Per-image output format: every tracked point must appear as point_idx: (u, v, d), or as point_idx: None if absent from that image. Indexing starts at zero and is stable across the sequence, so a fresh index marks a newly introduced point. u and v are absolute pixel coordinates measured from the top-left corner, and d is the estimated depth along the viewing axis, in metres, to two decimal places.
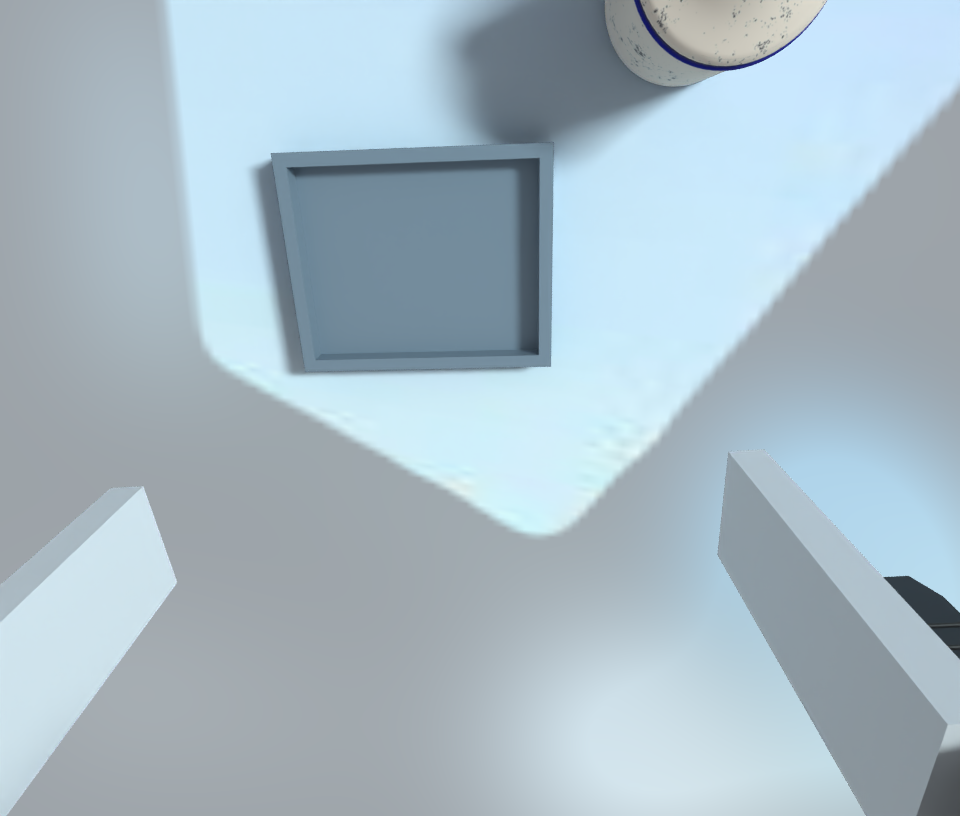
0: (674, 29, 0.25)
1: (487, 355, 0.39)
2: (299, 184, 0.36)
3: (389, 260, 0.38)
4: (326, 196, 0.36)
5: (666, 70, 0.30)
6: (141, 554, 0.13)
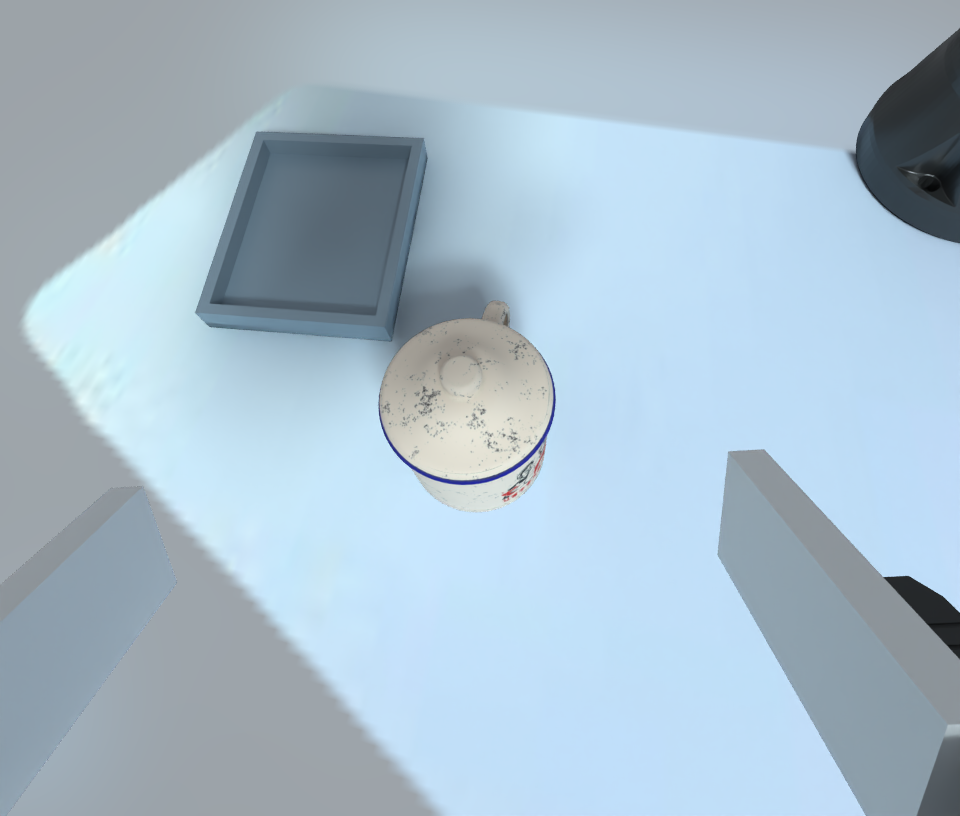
0: (414, 340, 0.30)
1: (224, 264, 0.42)
2: (402, 160, 0.46)
3: (329, 210, 0.45)
4: (389, 176, 0.46)
5: None
6: (141, 554, 0.13)
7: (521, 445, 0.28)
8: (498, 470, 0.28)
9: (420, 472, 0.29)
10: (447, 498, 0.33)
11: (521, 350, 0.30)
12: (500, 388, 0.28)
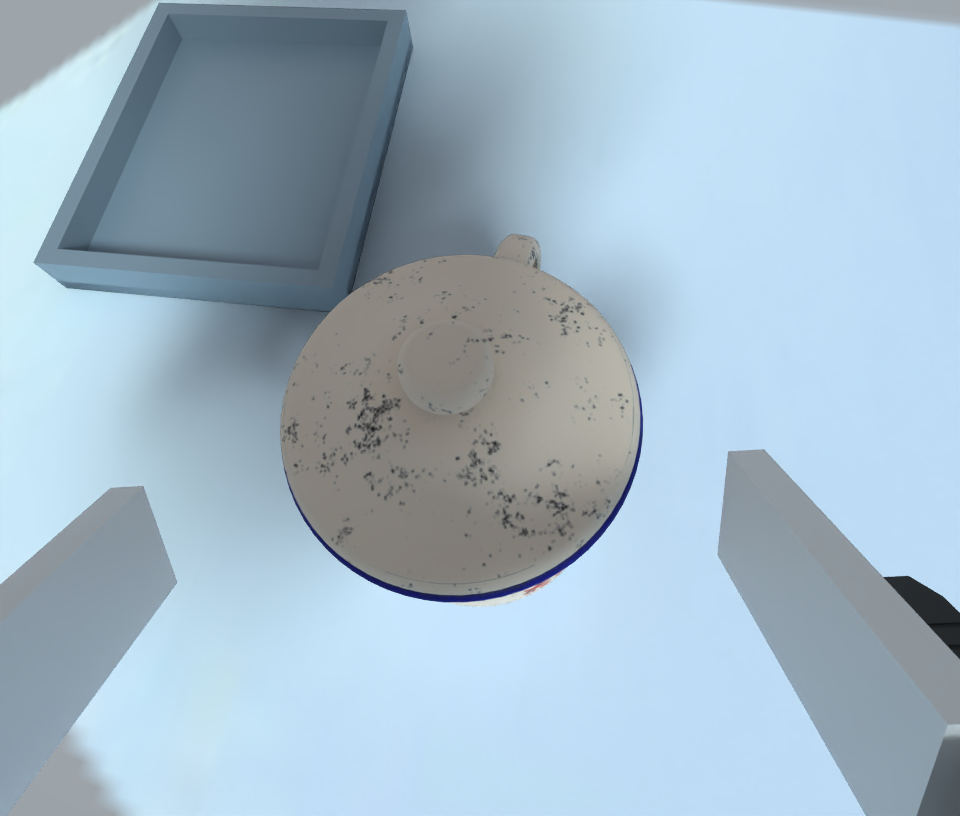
0: (357, 296, 0.15)
1: (89, 189, 0.27)
2: (374, 48, 0.31)
3: (262, 117, 0.30)
4: (354, 69, 0.30)
5: None
6: (141, 554, 0.13)
7: (577, 521, 0.13)
8: (525, 576, 0.13)
9: (357, 572, 0.13)
10: None
11: (574, 317, 0.14)
12: (533, 395, 0.13)
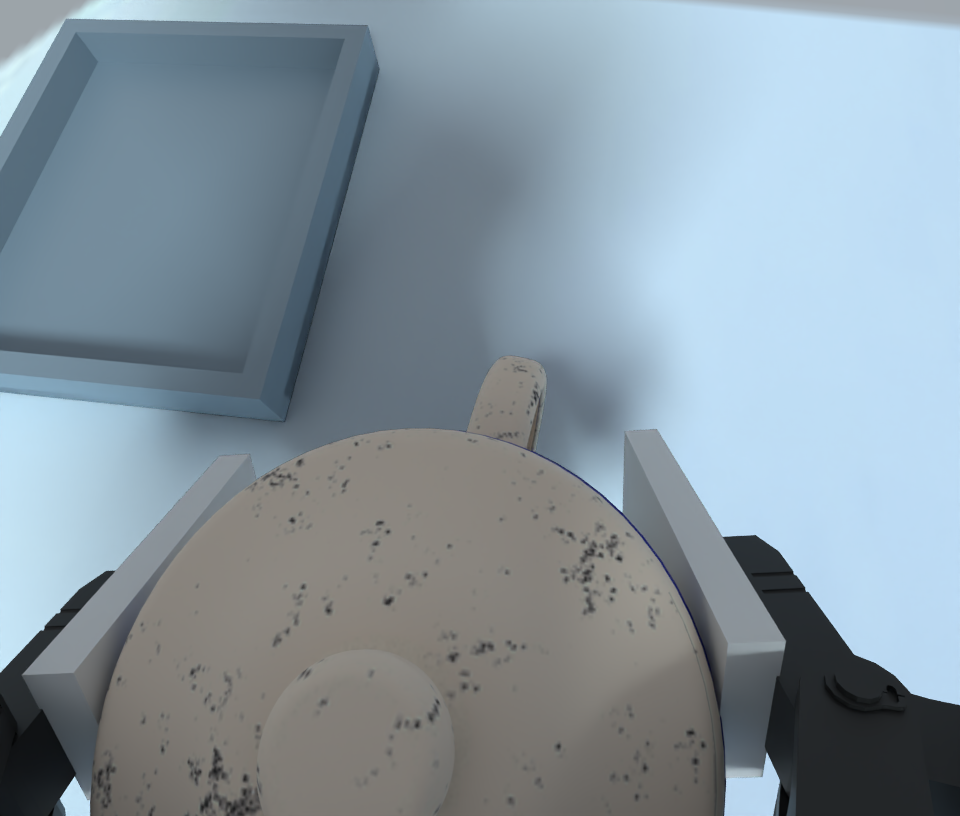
0: (241, 507, 0.09)
1: None
2: (330, 72, 0.25)
3: (189, 160, 0.24)
4: (305, 98, 0.24)
5: None
6: None
7: None
8: None
9: None
10: None
11: (605, 567, 0.08)
12: (531, 784, 0.07)
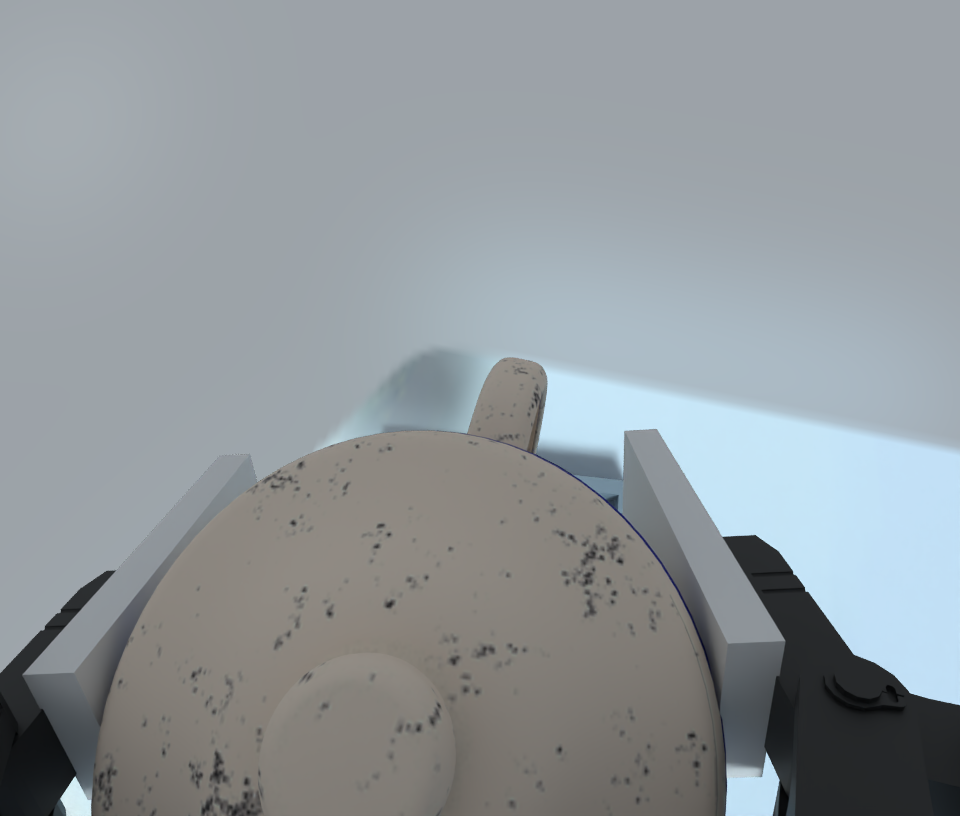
0: (242, 510, 0.09)
1: None
2: None
3: None
4: None
5: None
6: None
7: None
8: None
9: None
10: None
11: (606, 570, 0.08)
12: (532, 788, 0.07)
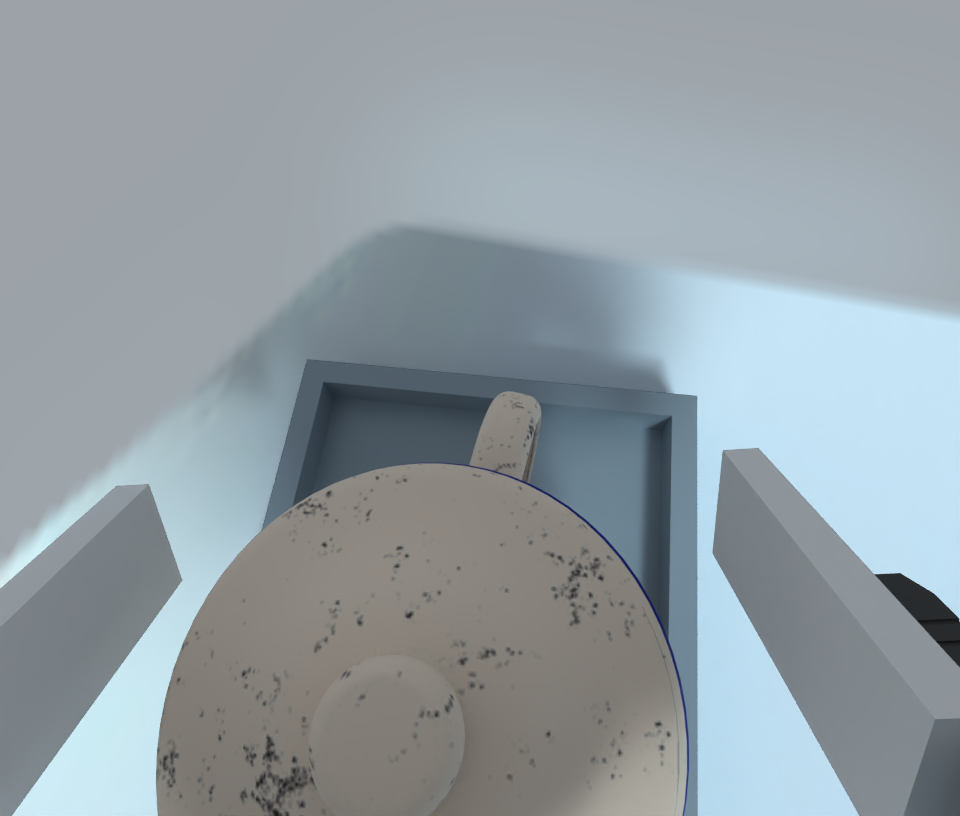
0: (279, 533, 0.11)
1: None
2: (633, 431, 0.21)
3: None
4: (609, 472, 0.20)
5: None
6: (147, 552, 0.13)
7: None
8: None
9: None
10: None
11: (589, 586, 0.10)
12: (526, 763, 0.08)
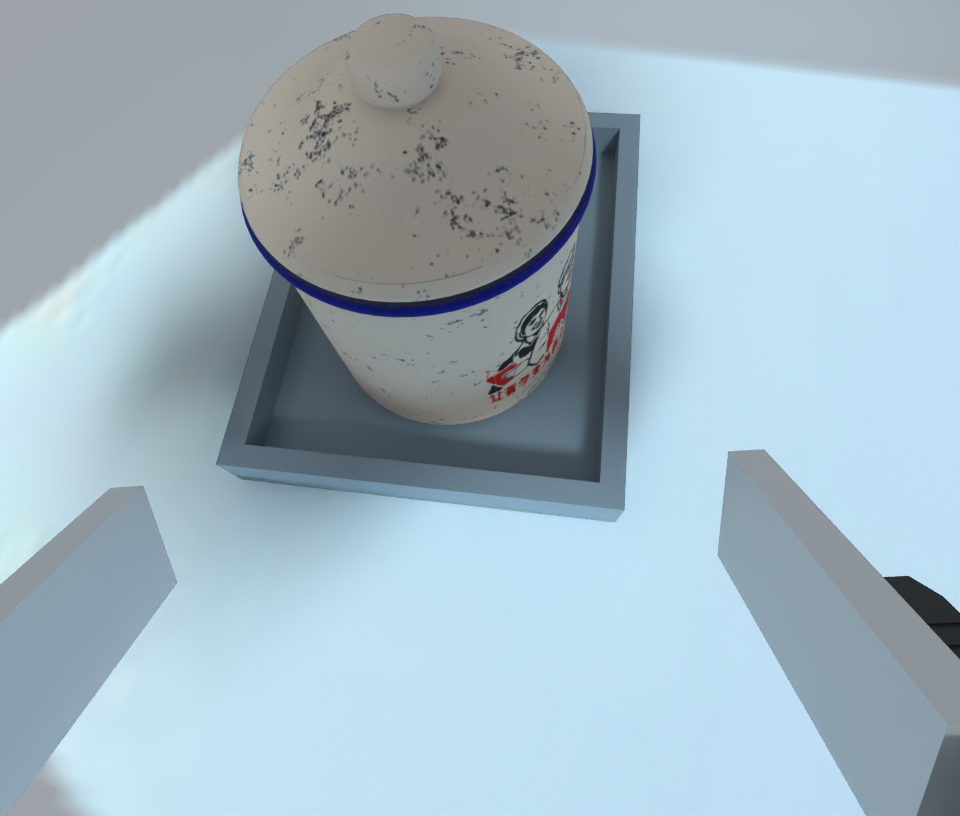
0: (317, 51, 0.15)
1: (272, 357, 0.21)
2: None
3: None
4: None
5: None
6: (141, 554, 0.13)
7: (524, 227, 0.13)
8: (473, 280, 0.13)
9: (310, 291, 0.13)
10: (388, 387, 0.18)
11: (529, 59, 0.14)
12: (481, 100, 0.13)
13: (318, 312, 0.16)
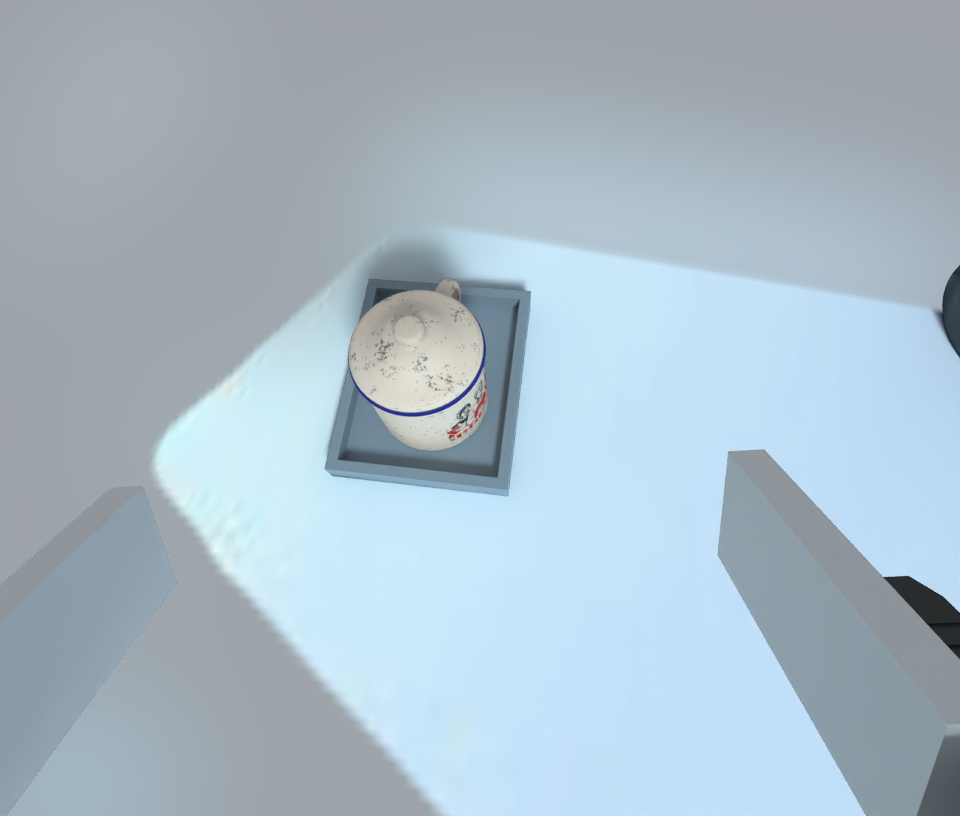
0: (377, 306, 0.39)
1: (347, 417, 0.45)
2: (507, 308, 0.49)
3: None
4: (496, 324, 0.48)
5: None
6: (141, 554, 0.13)
7: (455, 386, 0.36)
8: (436, 405, 0.36)
9: (377, 406, 0.37)
10: (404, 435, 0.42)
11: (460, 315, 0.38)
12: (439, 341, 0.36)
13: (377, 408, 0.39)
